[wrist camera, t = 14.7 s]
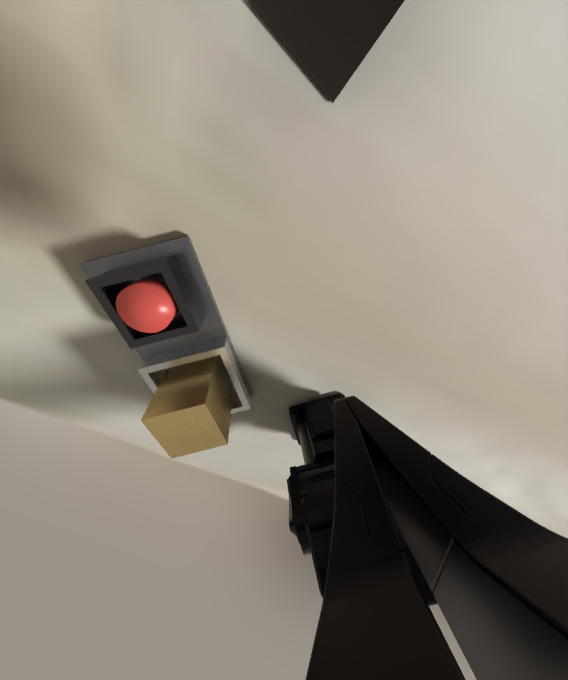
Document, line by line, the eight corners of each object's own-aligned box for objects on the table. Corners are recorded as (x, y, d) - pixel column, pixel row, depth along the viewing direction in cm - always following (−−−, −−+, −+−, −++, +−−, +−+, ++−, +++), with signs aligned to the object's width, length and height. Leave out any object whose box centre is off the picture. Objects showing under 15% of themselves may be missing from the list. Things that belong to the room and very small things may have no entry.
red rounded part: (189, 311, 18) (180, 325, 16) (147, 322, 18) (133, 338, 16) (169, 269, 17) (156, 279, 15) (123, 281, 17) (104, 292, 15)
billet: (232, 391, 23) (227, 444, 18) (189, 402, 23) (171, 458, 18) (216, 355, 21) (205, 403, 16) (168, 367, 21) (140, 420, 16)
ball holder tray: (252, 396, 24) (252, 416, 22) (183, 413, 24) (175, 436, 22) (188, 235, 16) (177, 240, 14) (85, 262, 16) (56, 271, 14)
